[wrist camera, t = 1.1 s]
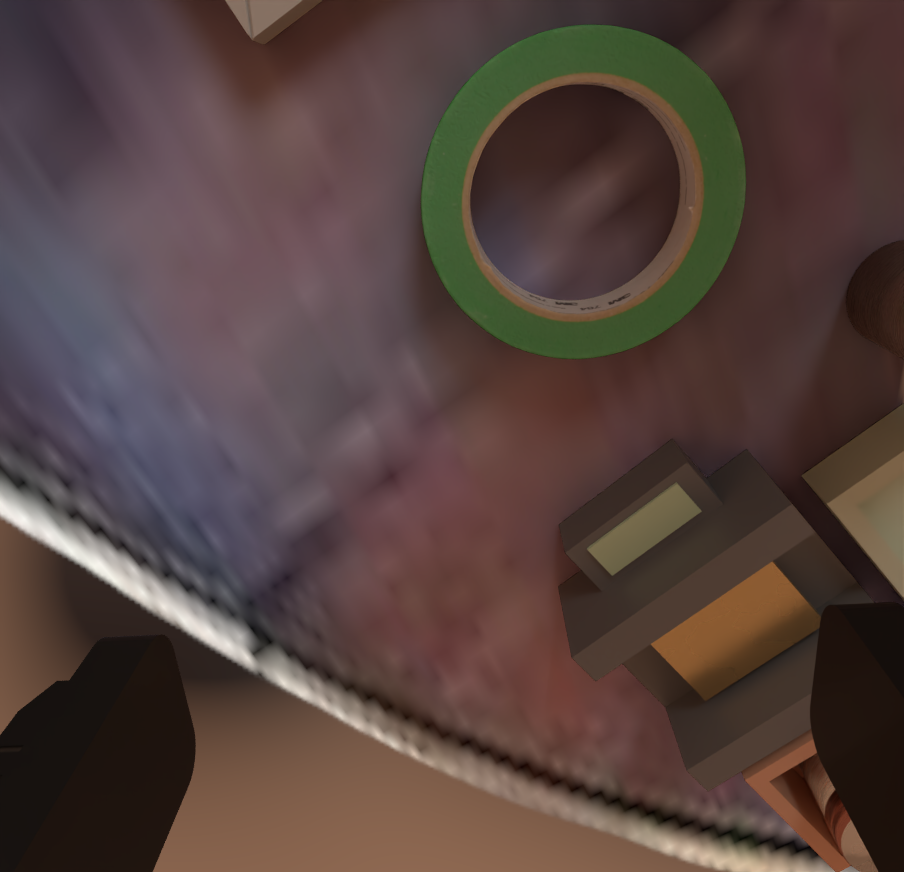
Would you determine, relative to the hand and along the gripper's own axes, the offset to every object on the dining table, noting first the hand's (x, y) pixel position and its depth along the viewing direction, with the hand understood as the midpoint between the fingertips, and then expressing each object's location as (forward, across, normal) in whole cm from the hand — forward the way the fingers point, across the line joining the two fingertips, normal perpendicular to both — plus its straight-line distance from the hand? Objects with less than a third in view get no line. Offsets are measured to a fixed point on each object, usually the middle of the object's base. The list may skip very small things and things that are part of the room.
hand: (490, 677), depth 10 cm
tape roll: (+23, -4, -3) cm, 24 cm away
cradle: (+23, -9, +13) cm, 27 cm away
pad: (+21, -9, +14) cm, 27 cm away
